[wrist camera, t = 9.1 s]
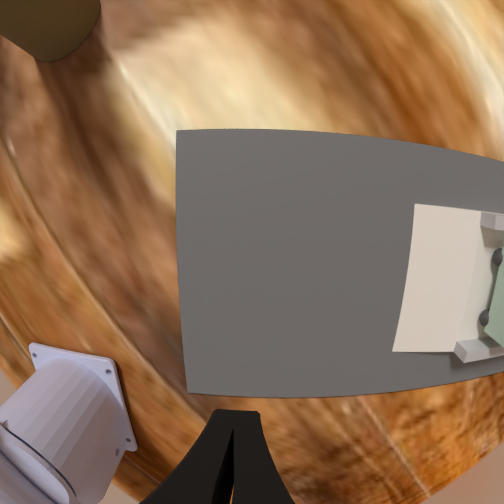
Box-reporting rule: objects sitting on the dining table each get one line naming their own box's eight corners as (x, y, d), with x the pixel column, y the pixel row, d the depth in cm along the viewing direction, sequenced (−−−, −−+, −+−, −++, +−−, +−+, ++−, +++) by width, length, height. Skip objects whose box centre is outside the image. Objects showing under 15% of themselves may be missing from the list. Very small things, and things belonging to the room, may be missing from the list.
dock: (521, 360, 19) (544, 381, 15) (190, 384, 20) (177, 422, 16) (557, 180, 15) (589, 184, 12) (180, 132, 16) (158, 121, 12)
